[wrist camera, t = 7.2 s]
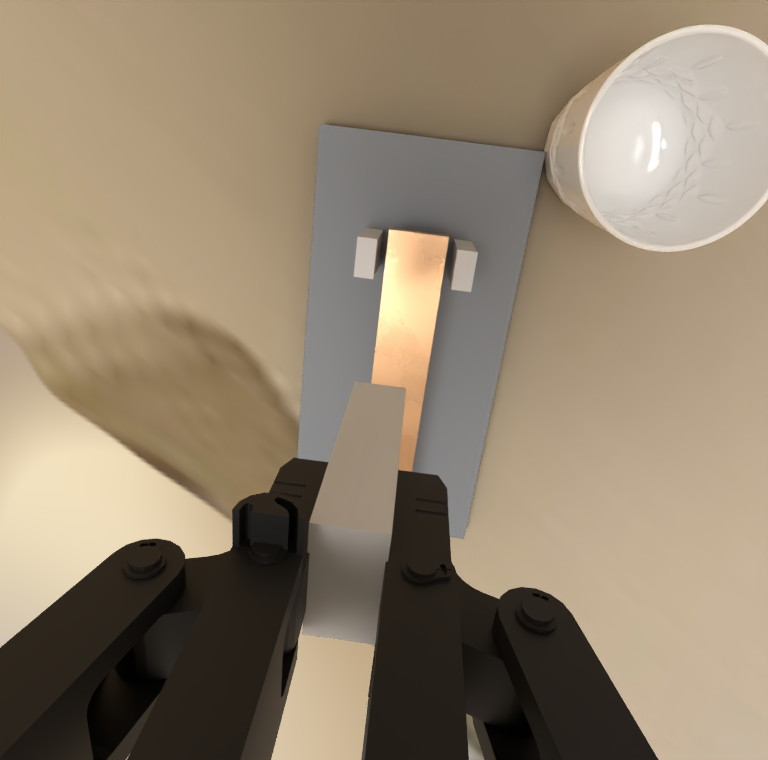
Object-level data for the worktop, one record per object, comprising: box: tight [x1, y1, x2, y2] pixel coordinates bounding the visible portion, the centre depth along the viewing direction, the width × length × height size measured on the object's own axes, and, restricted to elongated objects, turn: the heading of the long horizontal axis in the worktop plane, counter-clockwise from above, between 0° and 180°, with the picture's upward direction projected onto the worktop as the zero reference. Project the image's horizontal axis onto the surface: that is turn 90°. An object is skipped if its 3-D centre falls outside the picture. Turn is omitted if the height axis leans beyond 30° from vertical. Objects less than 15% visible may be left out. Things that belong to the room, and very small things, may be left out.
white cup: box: [544, 25, 768, 252], centre depth 25 cm, size 8×8×10 cm
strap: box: [371, 227, 449, 472], centre depth 31 cm, size 19×3×1 cm, turn 173°
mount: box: [297, 124, 545, 539], centre depth 32 cm, size 25×12×6 cm, turn 173°
